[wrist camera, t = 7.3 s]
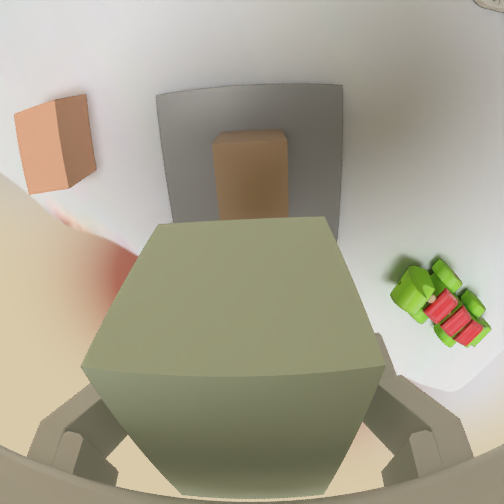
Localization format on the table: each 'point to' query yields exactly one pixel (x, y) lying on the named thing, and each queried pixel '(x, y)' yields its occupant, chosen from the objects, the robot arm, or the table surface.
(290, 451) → the sage brick
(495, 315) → the table surface
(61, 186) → the terracotta brick
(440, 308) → the toy crocodile
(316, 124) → the base plate
